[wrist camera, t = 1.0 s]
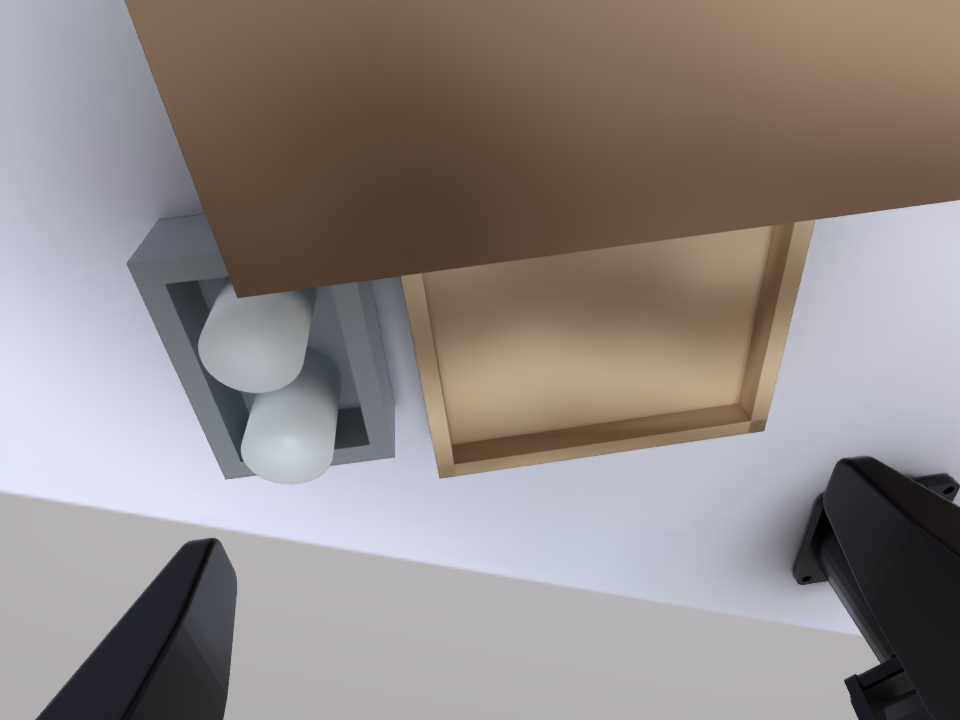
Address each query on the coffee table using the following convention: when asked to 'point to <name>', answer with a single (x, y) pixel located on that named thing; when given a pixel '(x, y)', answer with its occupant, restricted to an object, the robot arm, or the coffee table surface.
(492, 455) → the shallow wooden box
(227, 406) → the tray
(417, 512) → the coffee table surface
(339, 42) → the wooden stand
